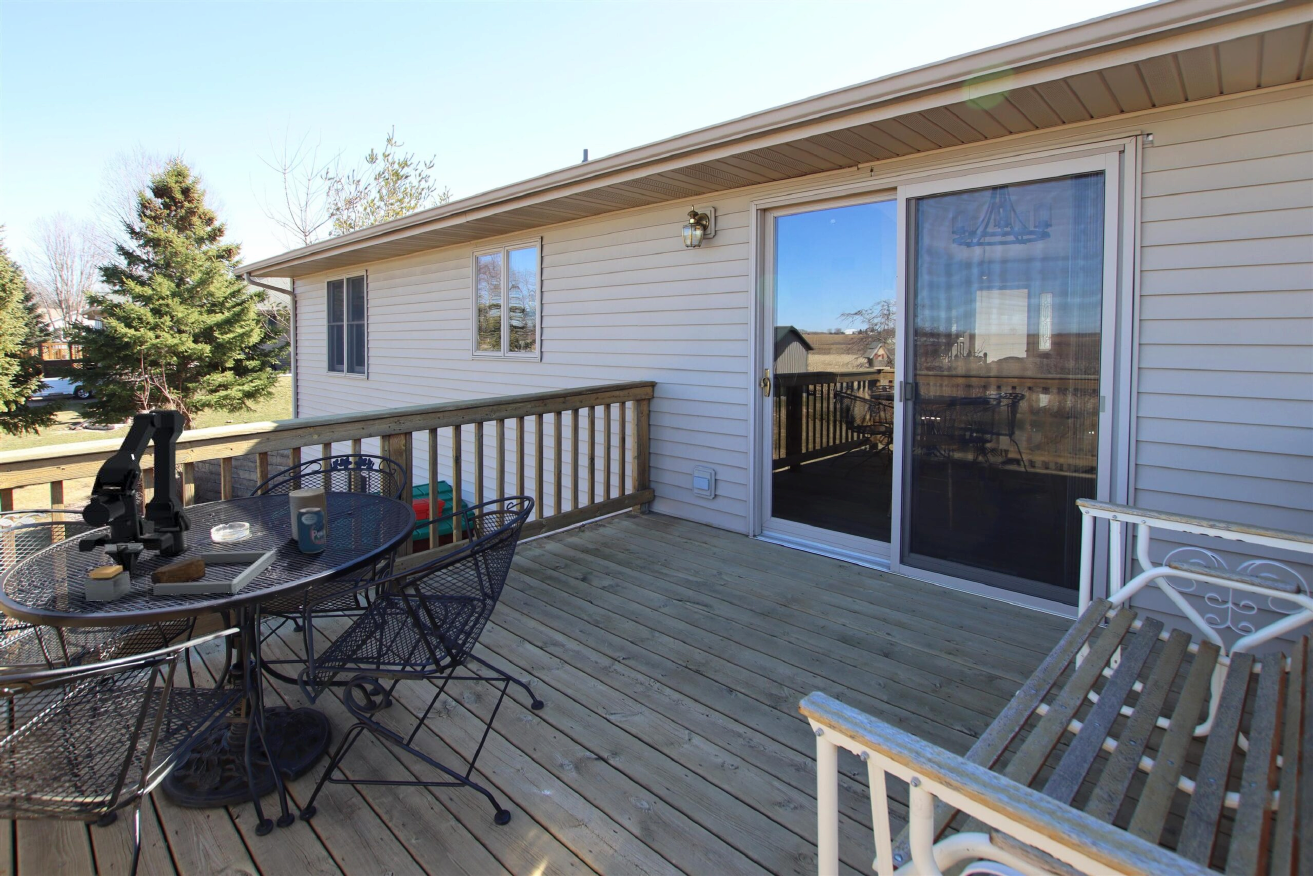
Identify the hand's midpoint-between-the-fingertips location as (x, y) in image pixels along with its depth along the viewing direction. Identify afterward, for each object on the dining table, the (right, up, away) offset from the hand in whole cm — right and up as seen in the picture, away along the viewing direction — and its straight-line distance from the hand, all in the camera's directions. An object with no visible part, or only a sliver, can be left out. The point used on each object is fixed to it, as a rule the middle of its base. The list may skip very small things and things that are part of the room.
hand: (130, 575), depth 172 cm
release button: (+3, -1, -11) cm, 11 cm away
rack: (+19, -1, +3) cm, 20 cm away
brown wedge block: (+13, -2, 0) cm, 13 cm away
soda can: (+34, +2, +24) cm, 41 cm away
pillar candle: (+27, +4, +36) cm, 45 cm away
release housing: (+3, -3, -10) cm, 11 cm away
